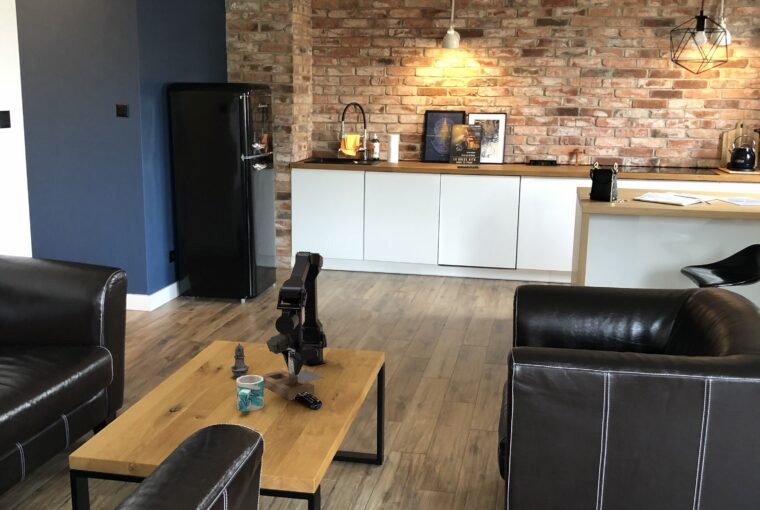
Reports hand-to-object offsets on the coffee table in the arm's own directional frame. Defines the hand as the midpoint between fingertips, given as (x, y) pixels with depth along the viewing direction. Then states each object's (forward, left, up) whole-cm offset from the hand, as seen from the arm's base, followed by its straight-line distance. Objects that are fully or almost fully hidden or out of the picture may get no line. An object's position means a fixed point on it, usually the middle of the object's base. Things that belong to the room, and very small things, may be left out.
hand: (293, 373), depth 251 cm
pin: (0, 0, -2) cm, 2 cm away
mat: (-10, -10, -6) cm, 16 cm away
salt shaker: (+6, -22, -7) cm, 24 cm away
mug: (+17, +2, -7) cm, 18 cm away
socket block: (0, -4, -7) cm, 8 cm away
